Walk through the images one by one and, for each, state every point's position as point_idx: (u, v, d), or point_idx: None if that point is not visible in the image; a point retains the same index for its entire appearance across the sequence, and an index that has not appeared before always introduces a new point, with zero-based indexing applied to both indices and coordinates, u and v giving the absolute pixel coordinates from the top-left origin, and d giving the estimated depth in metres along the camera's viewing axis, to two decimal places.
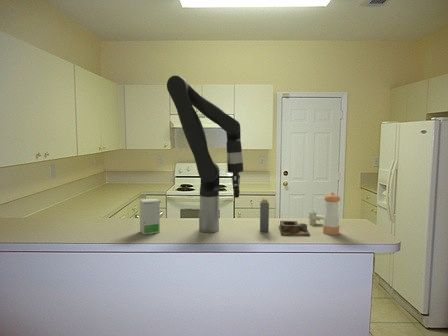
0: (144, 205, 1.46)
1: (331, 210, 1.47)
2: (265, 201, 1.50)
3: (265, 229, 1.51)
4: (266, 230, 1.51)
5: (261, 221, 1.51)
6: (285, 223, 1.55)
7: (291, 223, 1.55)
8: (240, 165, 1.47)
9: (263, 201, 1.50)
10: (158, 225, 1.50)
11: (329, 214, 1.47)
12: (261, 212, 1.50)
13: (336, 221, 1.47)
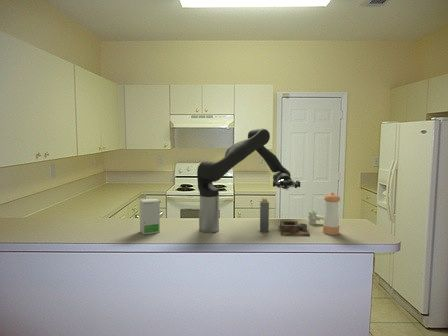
0: (144, 205, 1.46)
1: (331, 210, 1.47)
2: (265, 201, 1.50)
3: (265, 229, 1.51)
4: (266, 230, 1.51)
5: (261, 221, 1.51)
6: (285, 223, 1.55)
7: (291, 223, 1.55)
8: None
9: (263, 201, 1.50)
10: (158, 225, 1.50)
11: (329, 214, 1.47)
12: (261, 212, 1.50)
13: (336, 221, 1.47)
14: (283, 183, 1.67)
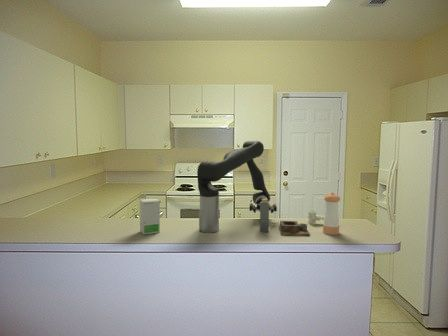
0: (144, 205, 1.46)
1: (331, 211, 1.47)
2: (265, 201, 1.50)
3: (265, 229, 1.51)
4: (266, 230, 1.51)
5: (261, 221, 1.51)
6: (285, 223, 1.55)
7: (291, 223, 1.55)
8: None
9: (263, 201, 1.50)
10: (158, 225, 1.50)
11: (329, 214, 1.47)
12: (261, 212, 1.50)
13: (336, 221, 1.47)
14: None
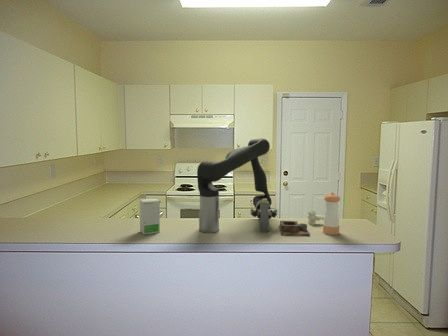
0: (144, 205, 1.46)
1: (331, 211, 1.47)
2: (265, 201, 1.50)
3: (265, 229, 1.51)
4: (266, 230, 1.51)
5: (261, 221, 1.51)
6: (285, 223, 1.55)
7: (291, 223, 1.55)
8: None
9: (263, 201, 1.50)
10: (158, 225, 1.50)
11: (329, 214, 1.47)
12: (261, 212, 1.50)
13: (336, 221, 1.47)
14: None
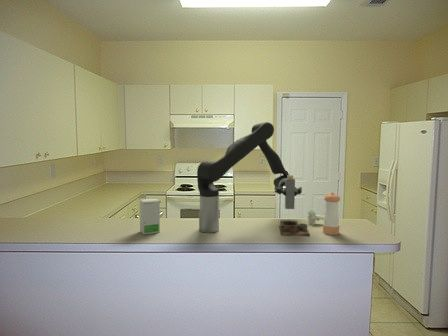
0: (144, 205, 1.46)
1: (331, 211, 1.47)
2: (291, 177, 1.48)
3: (291, 206, 1.49)
4: (292, 207, 1.49)
5: (287, 198, 1.49)
6: (285, 223, 1.55)
7: (291, 223, 1.55)
8: None
9: (289, 177, 1.48)
10: (158, 225, 1.50)
11: (329, 214, 1.47)
12: (287, 189, 1.48)
13: (336, 221, 1.47)
14: None
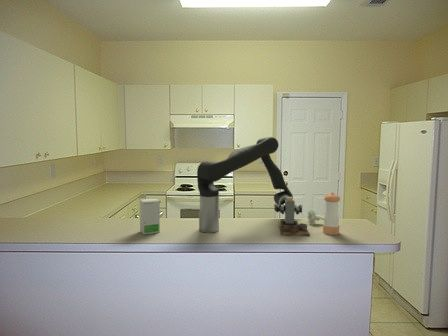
0: (144, 205, 1.46)
1: (331, 210, 1.47)
2: (291, 199, 1.49)
3: None
4: None
5: (286, 219, 1.50)
6: None
7: None
8: None
9: (289, 199, 1.49)
10: (158, 225, 1.50)
11: (329, 214, 1.47)
12: (286, 210, 1.49)
13: (336, 221, 1.47)
14: None
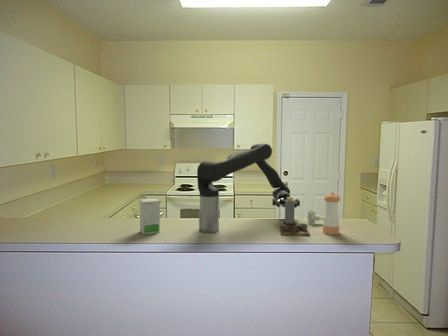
0: (144, 205, 1.46)
1: (331, 210, 1.47)
2: (290, 199, 1.49)
3: None
4: None
5: (286, 219, 1.50)
6: None
7: None
8: None
9: (288, 199, 1.49)
10: (158, 225, 1.50)
11: (329, 214, 1.47)
12: (286, 210, 1.49)
13: (336, 221, 1.47)
14: (283, 202, 1.68)
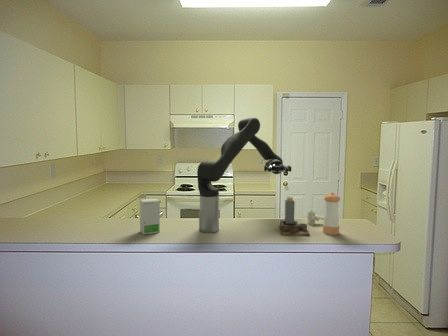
0: (144, 205, 1.46)
1: (331, 210, 1.47)
2: (290, 199, 1.49)
3: None
4: None
5: (286, 219, 1.50)
6: None
7: None
8: None
9: (288, 199, 1.49)
10: (158, 225, 1.50)
11: (329, 214, 1.47)
12: (286, 210, 1.49)
13: (336, 221, 1.47)
14: (274, 168, 1.69)
